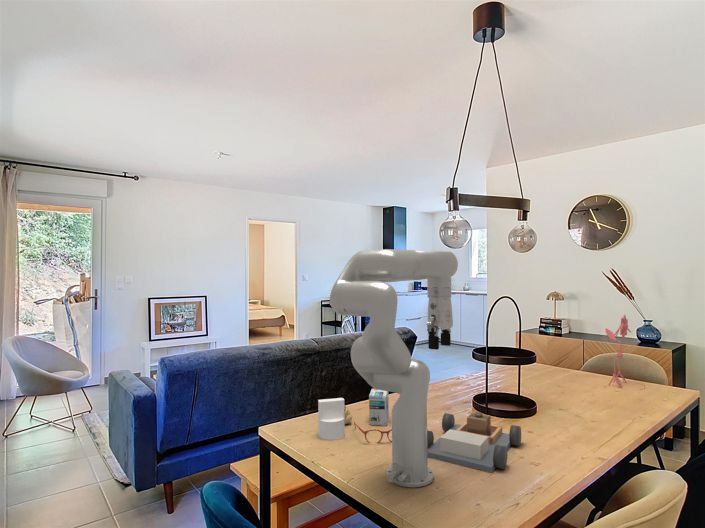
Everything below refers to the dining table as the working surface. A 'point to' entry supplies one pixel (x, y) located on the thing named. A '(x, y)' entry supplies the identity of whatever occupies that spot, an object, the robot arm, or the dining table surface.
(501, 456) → the toy car chassis
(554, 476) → the dining table surface
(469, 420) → the brown rectangular block
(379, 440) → the red eyeglasses
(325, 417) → the cylinder with rectangular tab
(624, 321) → the pink coral sprig
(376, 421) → the light bulb box
